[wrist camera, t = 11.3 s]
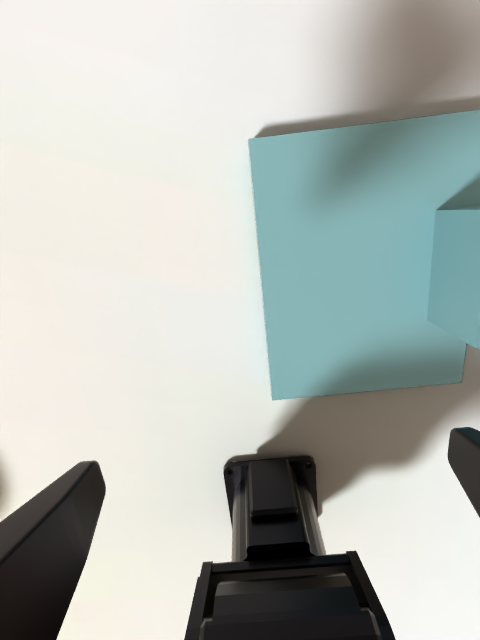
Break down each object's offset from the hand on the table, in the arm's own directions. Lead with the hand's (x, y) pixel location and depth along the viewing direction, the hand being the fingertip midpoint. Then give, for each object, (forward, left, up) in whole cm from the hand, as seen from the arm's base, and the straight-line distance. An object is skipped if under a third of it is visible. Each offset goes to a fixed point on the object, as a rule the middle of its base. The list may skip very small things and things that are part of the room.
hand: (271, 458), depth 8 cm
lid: (+2, -6, -12) cm, 14 cm away
